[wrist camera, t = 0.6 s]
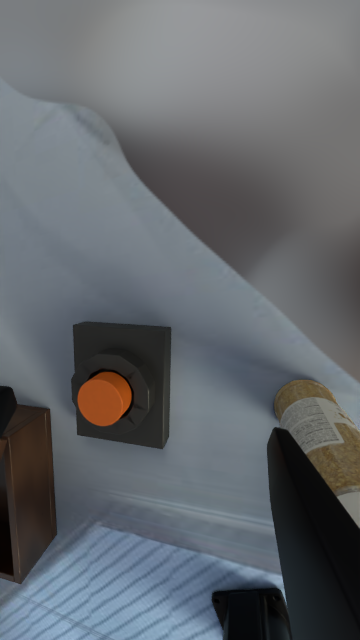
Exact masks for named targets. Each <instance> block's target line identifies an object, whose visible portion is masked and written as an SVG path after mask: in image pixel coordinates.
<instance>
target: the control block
mask: <svg viewBox="0 0 360 640" xmlns="http://www.w3.org/2000/svg"><path fill="white" fill-rule="evenodd" d="M73 336H74V362H75V374H74V375H73V377H72V379H71V380H72V381H71V383H72V400H73V403H74V405H75V406H76V415H77V435H81V436H87V437H93V438H99V439H105V440H111V441H117V442H123V443H129V444H135V445H141V446H147V447H153V448H159V449H163V448H164V446H165V444H166V442H167V439H168V437H169V408H170V358H171V327H162V326H147V325H131V324H116V323H101V322H82V323H78V324H75V325H73ZM102 372H114V373H116V374H119V375H120V376H122V377H123V378H124V379H125V380H126V381H127V383H128V384H129V386H130V389H131V393H132V400H131V404H130V406H129V408H128V409H127V410H126V411H125V412H124V414H123V415H122V416H121V417H120V418H119V419H118V420H117V421H116V422H115V423H113V424H112V425H108V426H98V425H95V424H93V423H91V422H89V421H88V420H87V419H86V418H85V417H84V416H83V415H82V413H81V411H80V409H79V406H78V393H79V390H80V388H81V387H82V385H83V384H84V383H86V382H87V381H89V380H90V379H92V378H93V377H95V376H96V375H98V374H99V373H102Z"/></svg>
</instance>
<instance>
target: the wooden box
mask: <svg viewBox="0 0 360 640" xmlns="http://www.w3.org/2000/svg"><path fill="white" fill-rule="evenodd" d="M1 439H7V443H6V446H5V449H4V452H3V455H2V458H1V461H0V578H2V579H6V580H9V581H12V582H15V583H18V584H21V583H22V582H23V581H24V579H25V578H26V576H27V575H28V574H29V572H30V571H31V570H32V568H33V567H34V565H35V564H36V563H37V561H38V560H39V558H40V557H41V556H42V554H43V553H44V551H45V550H46V549H47V547H48V546H49V545H50V543H51V542H52V540H53V539H54V538H55V536H56V535H57V531H56V513H55V494H54V476H53V458H52V439H51V421H50V409H46V408H39V407H33V406H26V405H19V404H17V408H16V411H15V413H14V415H13V416H12V418H11V420H10V422H9V424H8V426H7V428H6V429H5V431H4V433H3V435H2V437H1Z"/></svg>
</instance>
